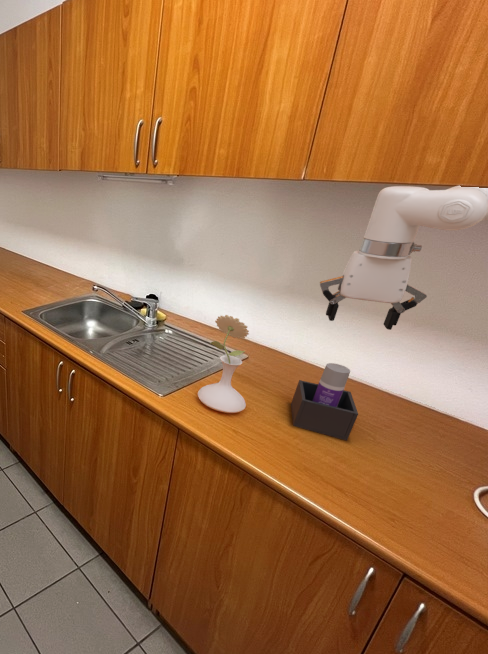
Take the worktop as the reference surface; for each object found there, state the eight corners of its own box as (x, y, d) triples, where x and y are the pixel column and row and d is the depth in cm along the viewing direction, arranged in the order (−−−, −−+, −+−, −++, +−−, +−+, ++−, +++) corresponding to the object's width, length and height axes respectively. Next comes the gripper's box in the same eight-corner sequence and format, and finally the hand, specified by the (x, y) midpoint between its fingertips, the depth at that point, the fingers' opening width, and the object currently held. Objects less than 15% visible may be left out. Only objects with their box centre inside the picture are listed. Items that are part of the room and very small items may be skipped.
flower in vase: (254, 413, 103) (280, 327, 94) (218, 420, 101) (241, 333, 91) (216, 386, 115) (236, 307, 105) (183, 392, 112) (200, 311, 103)
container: (310, 422, 98) (330, 371, 92) (304, 411, 102) (322, 361, 96) (333, 426, 97) (354, 374, 91) (326, 415, 101) (345, 364, 95)
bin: (340, 417, 101) (350, 391, 98) (347, 440, 93) (358, 414, 90) (290, 404, 107) (299, 379, 104) (293, 425, 99) (302, 399, 96)
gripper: (437, 248, 81) (406, 324, 87) (329, 241, 90) (308, 310, 96) (450, 256, 75) (416, 337, 81) (334, 247, 84) (311, 321, 90)
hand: (358, 322), depth 89 cm, fingers open, 9 cm apart
